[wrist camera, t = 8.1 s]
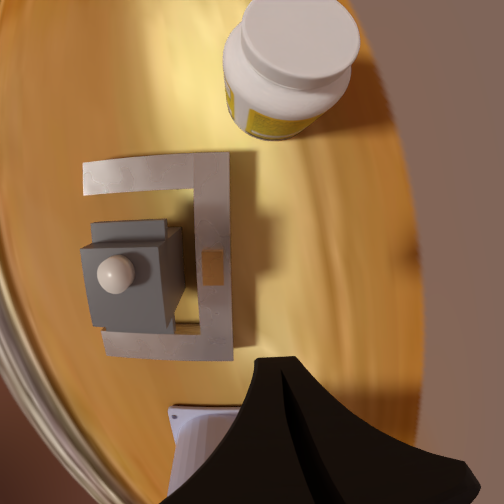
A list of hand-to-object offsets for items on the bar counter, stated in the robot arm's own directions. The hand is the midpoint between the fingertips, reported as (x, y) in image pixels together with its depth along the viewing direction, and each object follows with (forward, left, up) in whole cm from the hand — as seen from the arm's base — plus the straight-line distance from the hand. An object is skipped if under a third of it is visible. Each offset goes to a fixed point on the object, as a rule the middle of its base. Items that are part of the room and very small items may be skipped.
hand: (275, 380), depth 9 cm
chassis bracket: (+2, +6, -10) cm, 12 cm away
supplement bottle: (+12, -1, -11) cm, 16 cm away
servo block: (+2, +7, -11) cm, 13 cm away
